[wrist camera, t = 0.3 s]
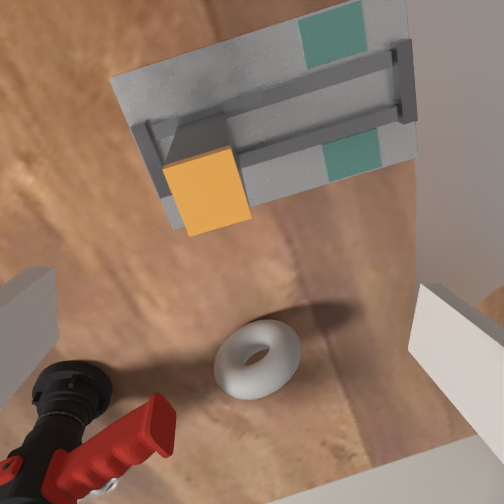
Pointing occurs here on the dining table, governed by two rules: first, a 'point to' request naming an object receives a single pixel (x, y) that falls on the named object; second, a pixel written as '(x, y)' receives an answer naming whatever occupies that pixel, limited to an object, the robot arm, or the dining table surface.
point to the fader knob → (206, 176)
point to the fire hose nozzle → (70, 434)
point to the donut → (264, 371)
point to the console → (287, 99)
